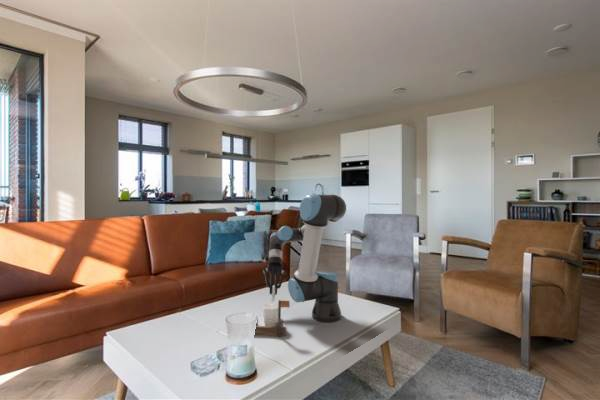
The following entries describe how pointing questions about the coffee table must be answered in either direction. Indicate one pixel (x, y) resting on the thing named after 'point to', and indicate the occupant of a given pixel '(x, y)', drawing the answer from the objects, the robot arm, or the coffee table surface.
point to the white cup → (271, 315)
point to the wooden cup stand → (273, 330)
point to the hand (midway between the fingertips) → (272, 300)
